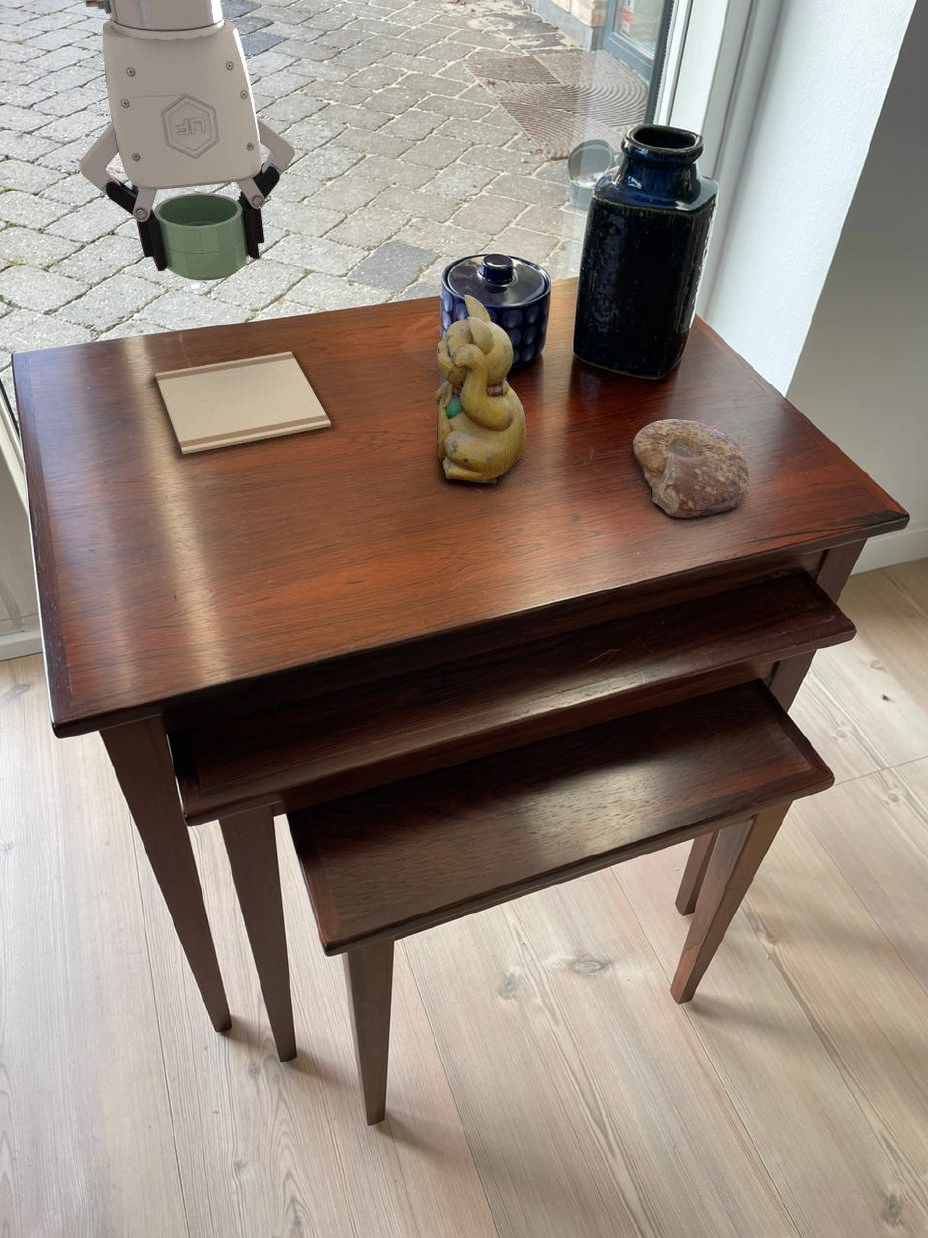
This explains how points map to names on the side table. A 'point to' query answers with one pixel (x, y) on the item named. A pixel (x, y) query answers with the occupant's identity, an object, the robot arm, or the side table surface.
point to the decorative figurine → (477, 400)
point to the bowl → (202, 235)
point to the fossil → (691, 467)
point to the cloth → (239, 402)
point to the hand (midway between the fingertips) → (206, 256)
